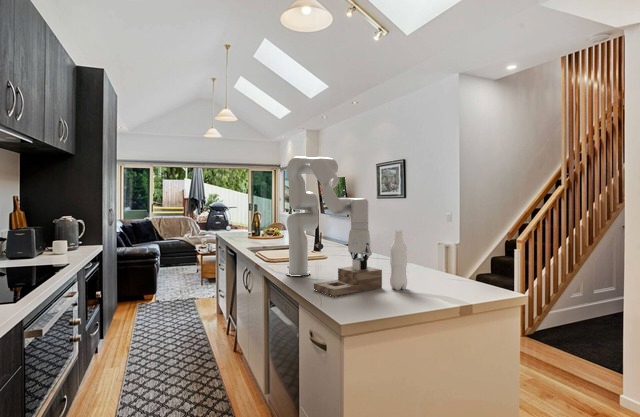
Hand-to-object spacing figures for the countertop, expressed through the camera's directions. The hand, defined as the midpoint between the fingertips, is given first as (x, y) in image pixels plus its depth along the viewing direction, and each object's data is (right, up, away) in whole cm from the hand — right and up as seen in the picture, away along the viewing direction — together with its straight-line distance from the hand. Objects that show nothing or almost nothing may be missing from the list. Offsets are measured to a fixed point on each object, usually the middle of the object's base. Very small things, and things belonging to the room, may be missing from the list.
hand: (359, 268), depth 168 cm
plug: (0, -3, 0) cm, 3 cm away
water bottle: (+16, -9, -3) cm, 19 cm away
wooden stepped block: (-5, -8, -4) cm, 11 cm away
